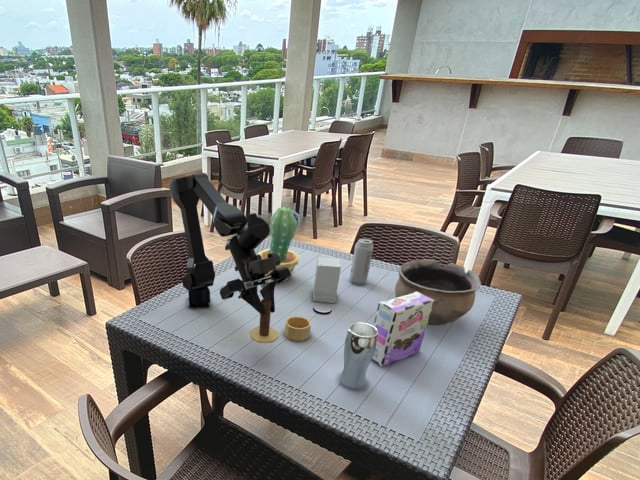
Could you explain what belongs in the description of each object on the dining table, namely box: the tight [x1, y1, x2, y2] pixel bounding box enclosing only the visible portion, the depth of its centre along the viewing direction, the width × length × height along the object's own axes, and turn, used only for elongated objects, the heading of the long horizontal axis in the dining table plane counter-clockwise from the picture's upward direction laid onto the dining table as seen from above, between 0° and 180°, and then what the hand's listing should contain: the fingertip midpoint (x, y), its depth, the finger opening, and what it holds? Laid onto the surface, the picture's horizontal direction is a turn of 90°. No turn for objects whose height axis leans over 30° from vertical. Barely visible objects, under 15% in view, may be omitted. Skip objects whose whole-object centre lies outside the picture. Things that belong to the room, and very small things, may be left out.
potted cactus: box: [257, 206, 301, 282], centre depth 152 cm, size 15×15×25 cm
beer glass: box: [339, 321, 378, 390], centre depth 103 cm, size 7×7×15 cm
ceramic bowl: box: [394, 258, 482, 326], centre depth 130 cm, size 22×22×15 cm
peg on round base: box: [248, 298, 280, 344], centre depth 110 cm, size 8×8×11 cm
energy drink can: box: [349, 238, 375, 285], centre depth 152 cm, size 6×6×15 cm
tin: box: [284, 315, 312, 342], centre depth 124 cm, size 7×7×4 cm
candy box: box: [371, 292, 434, 367], centre depth 112 cm, size 14×6×16 cm, turn 117°
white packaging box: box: [312, 257, 342, 304], centre depth 142 cm, size 7×7×13 cm
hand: (268, 313), depth 108 cm, fingers closed on peg on round base, 2 cm apart
